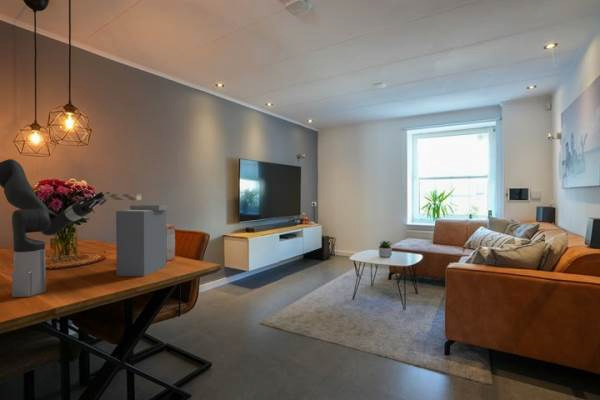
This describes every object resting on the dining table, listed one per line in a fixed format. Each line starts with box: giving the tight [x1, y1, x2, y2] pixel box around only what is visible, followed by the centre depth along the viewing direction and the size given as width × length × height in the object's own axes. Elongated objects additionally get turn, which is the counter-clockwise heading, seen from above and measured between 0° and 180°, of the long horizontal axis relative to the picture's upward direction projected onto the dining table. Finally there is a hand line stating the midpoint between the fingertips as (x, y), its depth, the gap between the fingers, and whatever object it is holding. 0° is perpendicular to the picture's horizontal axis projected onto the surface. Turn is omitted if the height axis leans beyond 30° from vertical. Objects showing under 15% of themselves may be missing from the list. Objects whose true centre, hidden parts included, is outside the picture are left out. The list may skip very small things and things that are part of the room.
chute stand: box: [115, 204, 169, 277], centre depth 153 cm, size 16×20×33 cm
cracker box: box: [166, 223, 176, 262], centre depth 181 cm, size 14×6×21 cm, turn 58°
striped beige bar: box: [93, 193, 142, 201], centre depth 149 cm, size 22×4×3 cm, turn 86°
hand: (106, 193), depth 149 cm, fingers closed on striped beige bar, 4 cm apart
